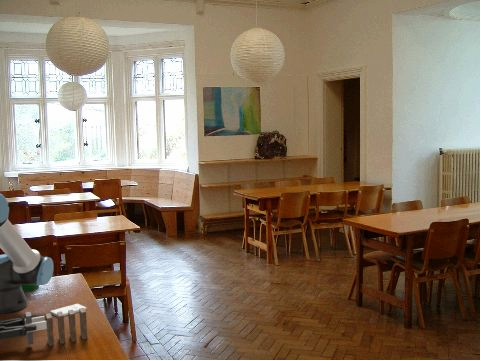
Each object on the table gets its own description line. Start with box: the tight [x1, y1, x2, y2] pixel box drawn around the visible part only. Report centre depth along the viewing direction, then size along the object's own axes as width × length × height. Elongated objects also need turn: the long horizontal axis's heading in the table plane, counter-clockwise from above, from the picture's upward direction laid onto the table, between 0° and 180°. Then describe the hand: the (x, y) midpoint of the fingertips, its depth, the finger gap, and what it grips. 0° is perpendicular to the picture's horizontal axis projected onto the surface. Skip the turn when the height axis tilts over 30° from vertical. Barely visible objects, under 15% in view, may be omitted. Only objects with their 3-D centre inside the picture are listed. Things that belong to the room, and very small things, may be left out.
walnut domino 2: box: [56, 311, 66, 345], centre depth 187 cm, size 2×5×10 cm, turn 25°
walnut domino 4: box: [78, 308, 88, 340], centre depth 191 cm, size 2×5×10 cm, turn 25°
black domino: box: [24, 311, 34, 346], centre depth 183 cm, size 2×5×10 cm, turn 25°
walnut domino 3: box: [67, 310, 78, 342], centre depth 189 cm, size 2×5×10 cm, turn 25°
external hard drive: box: [49, 303, 87, 318], centre depth 219 cm, size 2×8×12 cm
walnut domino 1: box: [45, 312, 55, 347], centre depth 186 cm, size 2×5×10 cm, turn 25°
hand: (45, 322), depth 185 cm, fingers closed on black domino, 5 cm apart
